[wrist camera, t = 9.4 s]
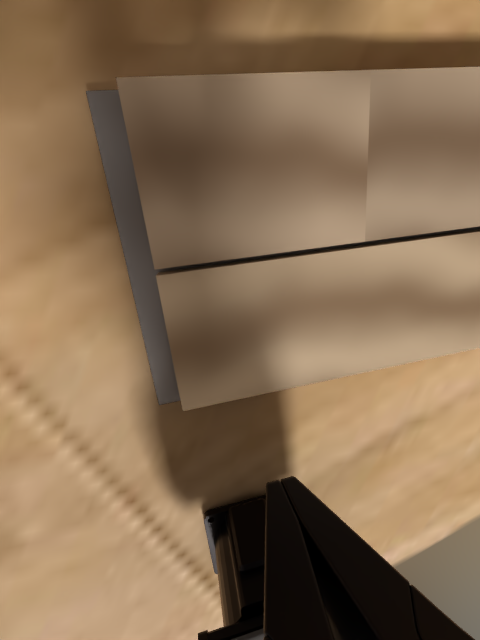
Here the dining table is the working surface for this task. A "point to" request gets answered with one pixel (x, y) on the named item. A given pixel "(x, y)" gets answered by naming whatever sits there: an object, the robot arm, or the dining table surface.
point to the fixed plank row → (301, 158)
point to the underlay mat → (137, 243)
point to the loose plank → (319, 315)
